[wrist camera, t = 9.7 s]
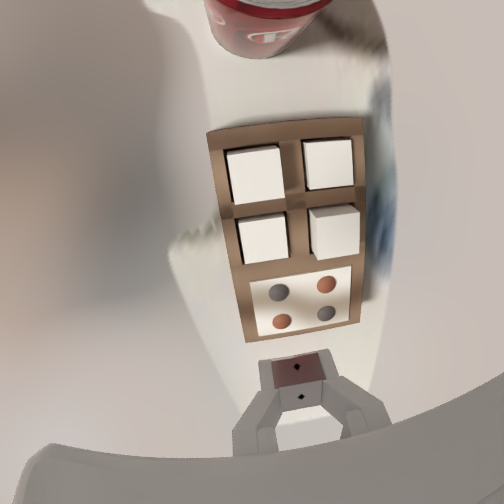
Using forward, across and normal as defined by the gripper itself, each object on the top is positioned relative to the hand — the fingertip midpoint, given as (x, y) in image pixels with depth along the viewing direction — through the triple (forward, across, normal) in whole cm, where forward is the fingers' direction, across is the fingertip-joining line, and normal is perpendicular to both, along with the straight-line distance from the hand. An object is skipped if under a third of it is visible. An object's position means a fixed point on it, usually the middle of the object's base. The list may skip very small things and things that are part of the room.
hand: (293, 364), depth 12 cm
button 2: (+14, 0, -5) cm, 15 cm away
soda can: (+17, -2, -18) cm, 25 cm away
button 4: (+16, -6, -5) cm, 18 cm away
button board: (+17, -3, +1) cm, 17 cm away
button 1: (+16, 0, 0) cm, 16 cm away
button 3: (+14, -6, 0) cm, 16 cm away
